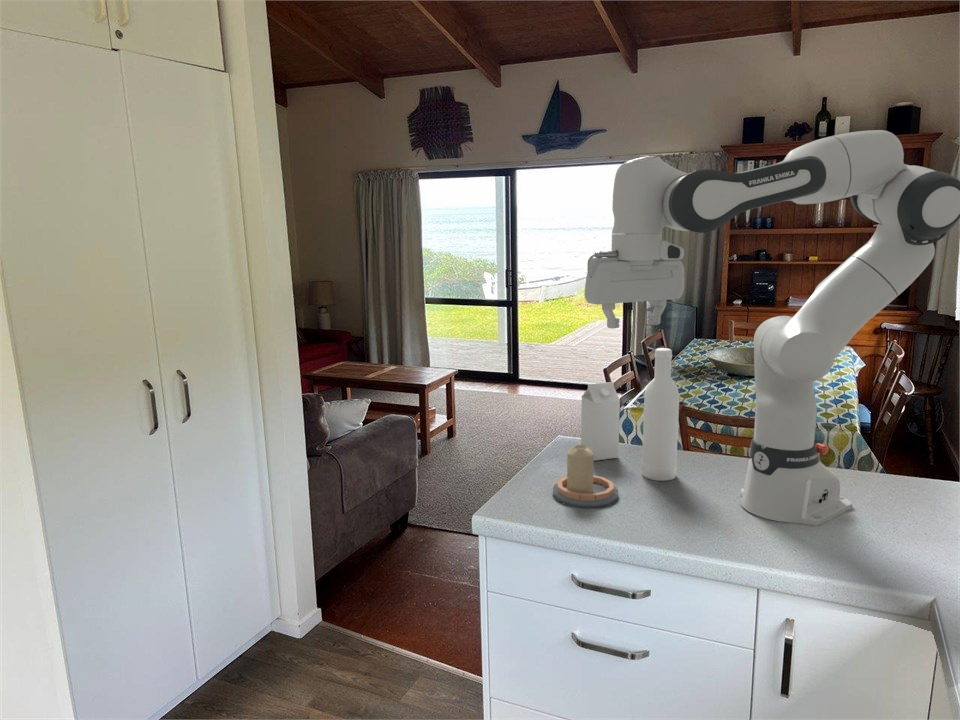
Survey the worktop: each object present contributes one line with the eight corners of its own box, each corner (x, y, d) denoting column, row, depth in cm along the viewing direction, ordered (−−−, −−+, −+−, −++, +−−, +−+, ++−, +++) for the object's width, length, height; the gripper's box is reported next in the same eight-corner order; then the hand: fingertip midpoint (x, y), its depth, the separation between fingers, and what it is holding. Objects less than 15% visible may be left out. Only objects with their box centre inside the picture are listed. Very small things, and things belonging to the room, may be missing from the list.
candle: (591, 496, 140) (592, 451, 139) (565, 494, 142) (566, 449, 140) (593, 487, 146) (594, 443, 144) (568, 485, 147) (568, 441, 145)
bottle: (636, 470, 159) (640, 346, 153) (668, 468, 160) (673, 345, 154) (648, 482, 151) (653, 352, 146) (681, 480, 152) (687, 351, 146)
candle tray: (593, 479, 154) (593, 469, 153) (631, 500, 141) (631, 489, 141) (541, 489, 148) (541, 479, 147) (576, 512, 135) (576, 501, 135)
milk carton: (580, 452, 172) (581, 381, 169) (605, 449, 174) (606, 379, 171) (593, 461, 166) (594, 387, 162) (618, 458, 168) (620, 384, 164)
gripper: (599, 252, 113) (597, 332, 115) (691, 249, 121) (688, 324, 124) (578, 251, 118) (577, 328, 121) (667, 248, 127) (665, 320, 130)
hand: (633, 326), depth 123 cm, fingers open, 8 cm apart
